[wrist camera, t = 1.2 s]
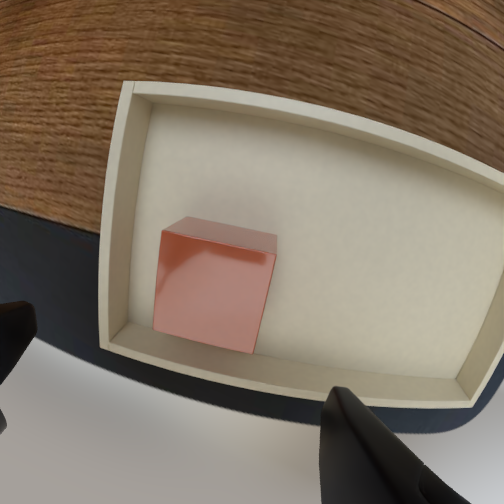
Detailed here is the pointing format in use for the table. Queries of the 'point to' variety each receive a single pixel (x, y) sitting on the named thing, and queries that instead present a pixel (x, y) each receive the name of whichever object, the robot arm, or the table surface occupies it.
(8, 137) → the table surface
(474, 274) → the beige tray
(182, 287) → the clay block
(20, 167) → the table surface
